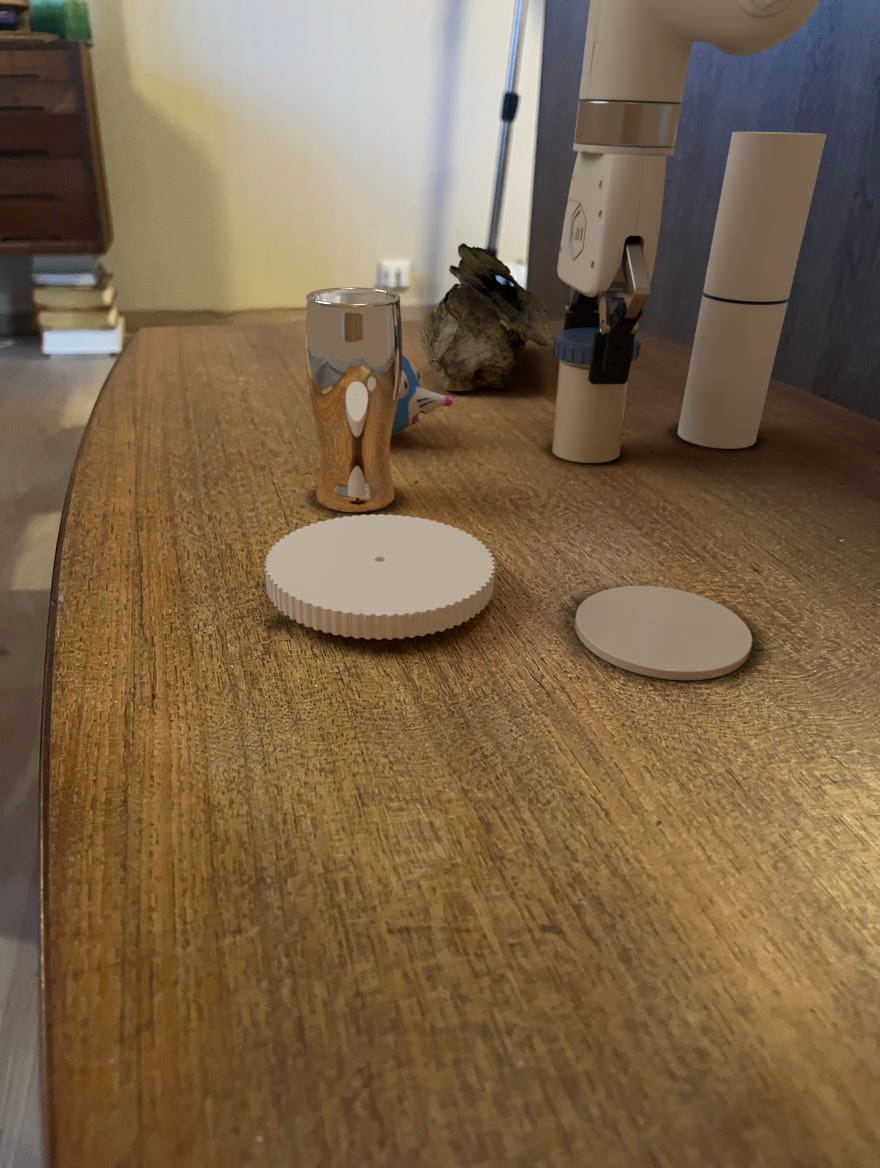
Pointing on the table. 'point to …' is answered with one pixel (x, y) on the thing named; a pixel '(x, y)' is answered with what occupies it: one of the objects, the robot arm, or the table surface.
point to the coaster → (663, 632)
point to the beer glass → (354, 392)
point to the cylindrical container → (748, 284)
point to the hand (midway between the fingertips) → (592, 369)
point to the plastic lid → (379, 576)
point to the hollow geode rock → (481, 324)
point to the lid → (582, 345)
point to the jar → (587, 416)
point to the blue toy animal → (414, 399)
